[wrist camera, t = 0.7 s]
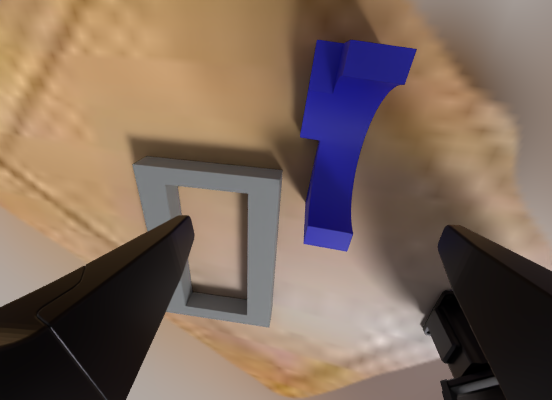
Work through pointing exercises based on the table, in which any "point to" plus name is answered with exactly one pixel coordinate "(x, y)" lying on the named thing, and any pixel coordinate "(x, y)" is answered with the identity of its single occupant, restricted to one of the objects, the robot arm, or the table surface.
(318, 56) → the blue curved bracket
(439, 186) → the table surface
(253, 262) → the gray rectangular open frame
